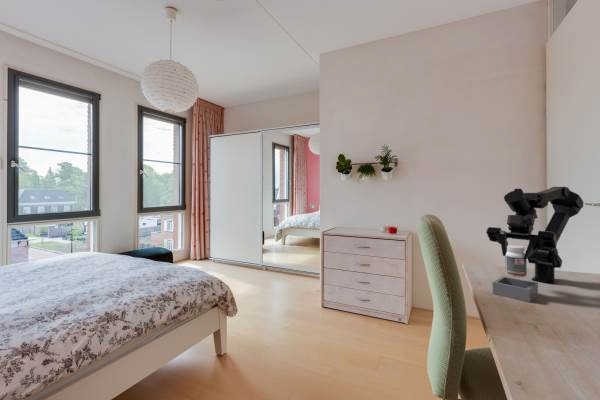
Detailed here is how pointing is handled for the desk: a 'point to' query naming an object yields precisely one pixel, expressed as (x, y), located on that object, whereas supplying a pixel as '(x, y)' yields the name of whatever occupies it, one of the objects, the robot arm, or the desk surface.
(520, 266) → the pill bottle
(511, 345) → the desk surface
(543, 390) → the desk surface
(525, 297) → the bottle holder
